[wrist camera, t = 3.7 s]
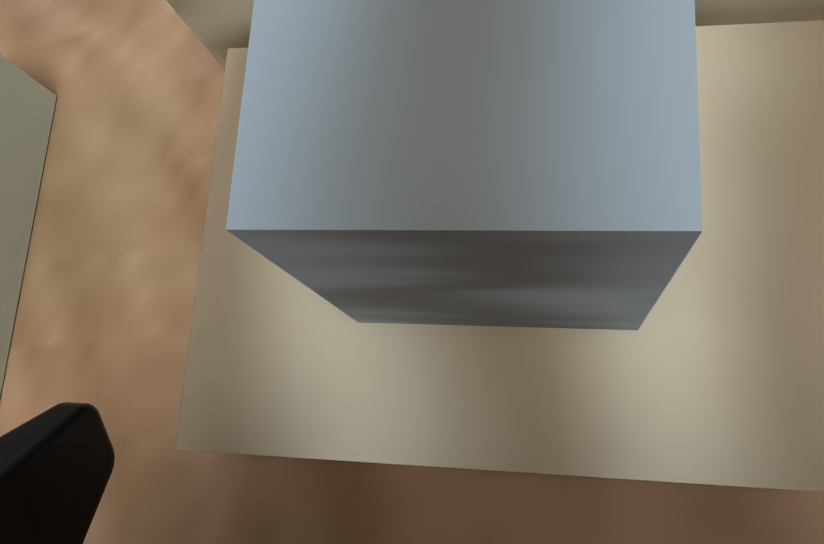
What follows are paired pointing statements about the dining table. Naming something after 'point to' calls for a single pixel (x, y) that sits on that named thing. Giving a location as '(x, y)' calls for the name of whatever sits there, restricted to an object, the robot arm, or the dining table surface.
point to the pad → (18, 182)
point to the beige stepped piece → (556, 347)
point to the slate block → (472, 156)
